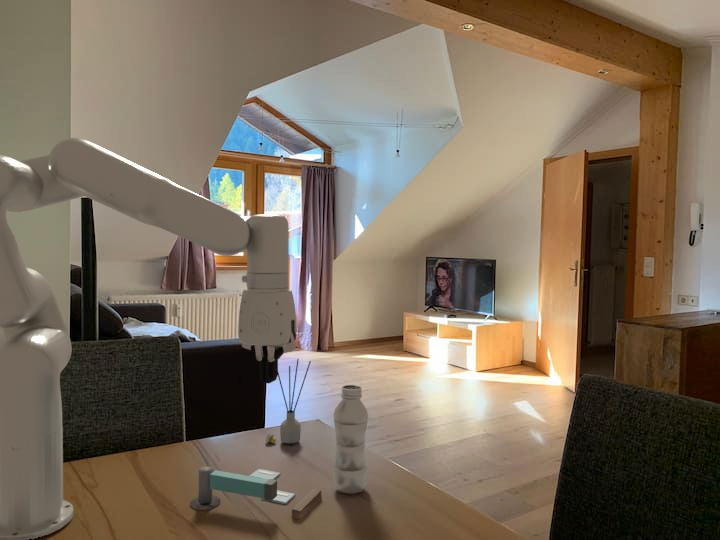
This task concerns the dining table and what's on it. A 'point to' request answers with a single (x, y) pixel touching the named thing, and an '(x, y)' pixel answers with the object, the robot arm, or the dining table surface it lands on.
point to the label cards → (281, 496)
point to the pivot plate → (207, 506)
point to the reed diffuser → (289, 418)
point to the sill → (306, 504)
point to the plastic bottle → (350, 442)
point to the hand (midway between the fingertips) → (268, 381)
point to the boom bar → (234, 485)
